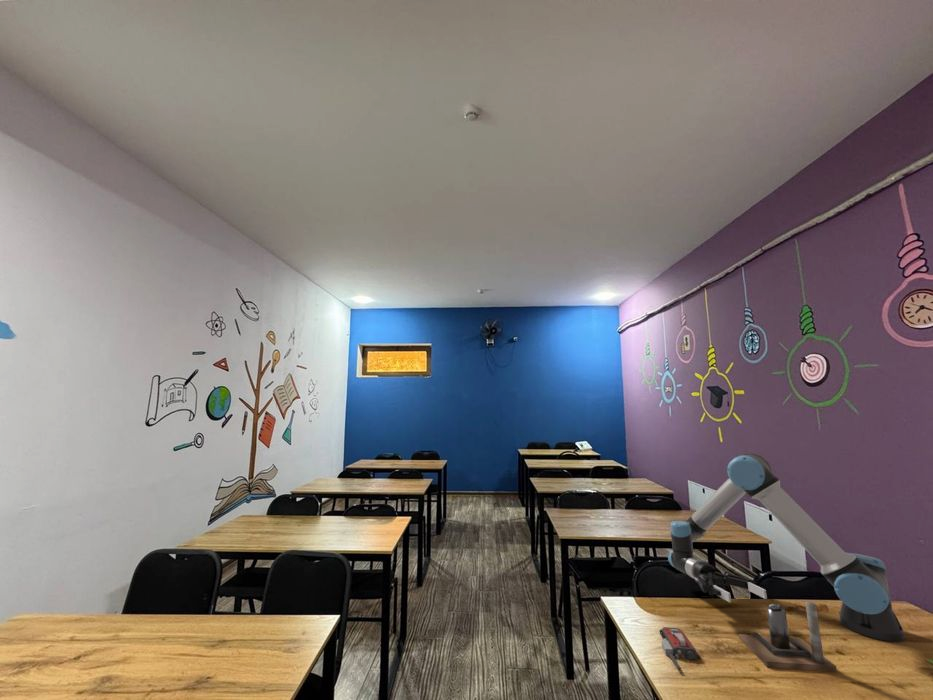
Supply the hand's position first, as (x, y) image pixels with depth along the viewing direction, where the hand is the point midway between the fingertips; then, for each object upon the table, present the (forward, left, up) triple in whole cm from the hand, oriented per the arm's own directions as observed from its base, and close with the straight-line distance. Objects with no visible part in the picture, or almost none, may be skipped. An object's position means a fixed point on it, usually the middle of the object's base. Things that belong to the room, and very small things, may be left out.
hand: (747, 596), depth 129 cm
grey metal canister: (-3, +10, -10) cm, 14 cm away
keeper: (-3, +11, -11) cm, 16 cm away
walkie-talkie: (+28, +14, -12) cm, 34 cm away
